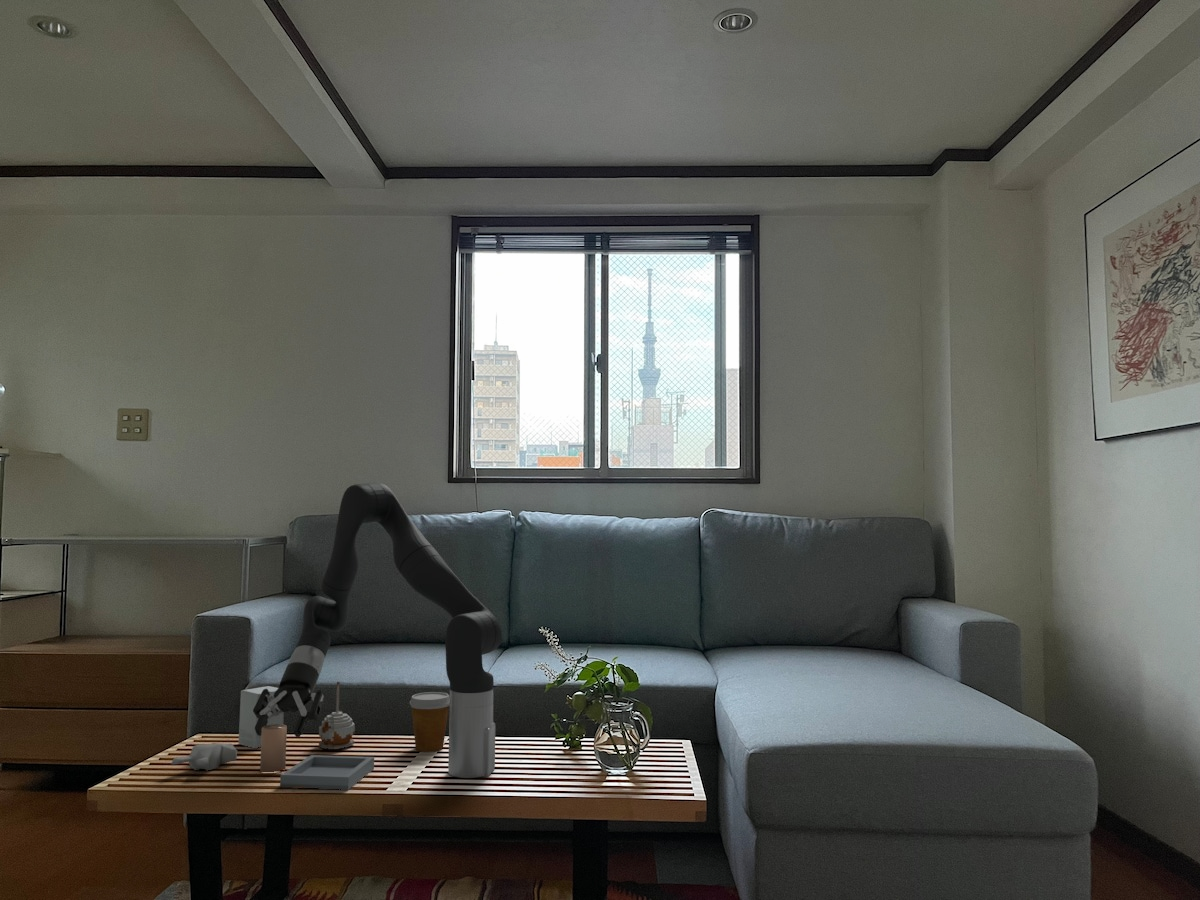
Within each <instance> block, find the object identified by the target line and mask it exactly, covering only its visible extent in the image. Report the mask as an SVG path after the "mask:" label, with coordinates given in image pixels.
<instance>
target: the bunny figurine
mask: <svg viewBox="0 0 1200 900" xmlns="http://www.w3.org/2000/svg"><path fill="white" fill-rule="evenodd" d="M237 755H238V749H236V747H235V746H234V744H232V743H224V742H223V743H219V742H218V743H217V742H214V743H213V742H212V743H210V744H209V743H201V744H200V743H198V744H196V745H194V746H192V748H191V751H190V753H189V755H188V756H178V757H174V758H173V760H172V762H171V763H170V765H178V764H183V763H184V764H185V763H188V765H189V767H190V769H193V770H194V771H195V770H198V771H200V769H201V770H202V769H203V770H205V771H206V772H209V771H208V770H211V771H212V770H216V769H218V768H219V767H220V765H223V764H228V763H230V762H233V761H234V762H235V761H236V760H237ZM227 762H228V763H227ZM217 767H218V768H217Z"/></svg>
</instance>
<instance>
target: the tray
mask: <svg viewBox="0 0 1200 900" xmlns="http://www.w3.org/2000/svg"><path fill="white" fill-rule="evenodd" d="M374 769H375V756H356V755H355V756H351V755H350V756H349V755H348V756H347V755H324V754H323V755H318V754H317V755H316V754H311V755H309V756H308V757H305V759H303V760H302V761H299V763H297V764H295V765H293V766H292V767H291V768H289V769H288V770H286V771H285V772H284V771H283V773H281V774H279V775H280V780H279V781H280V782H279V788H280V787H305V788H319V789H318V790H327V789H339V790H338V791H350V790H351V789H352V788H353V787H354V786H355V785H356V784H358V783H359V782H360V781H362V778H363V777H364V776H365V777H366V776H368V775H369V774H370V773H371V772H372V771H373V770H374ZM369 772H370V773H369ZM368 773H369V774H368ZM365 777H364V778H365ZM364 778H363V779H364ZM357 782H358V783H357ZM351 787H352V788H351ZM340 789H341V790H340Z"/></svg>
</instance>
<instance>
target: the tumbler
mask: <svg viewBox="0 0 1200 900" xmlns="http://www.w3.org/2000/svg"><path fill="white" fill-rule="evenodd" d="M287 726H288V725H286V724H284V723H283V724H272V725H267V726H263V727H262V733H261V747H260V760H259V761H260V767H259V772H260V771H261V772H274V771H280V770H283V769H285V770H286V760H287V759H286V758H287V736H288V735H287V734H288V733H287V731H288V730H287V729H288V727H287ZM261 772H260V773H261Z"/></svg>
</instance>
